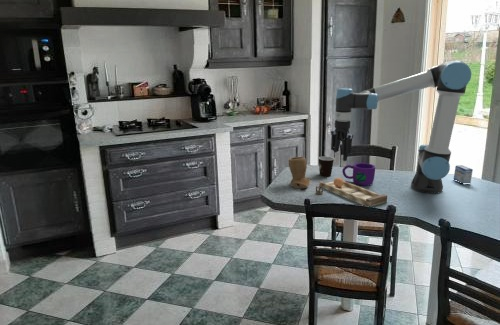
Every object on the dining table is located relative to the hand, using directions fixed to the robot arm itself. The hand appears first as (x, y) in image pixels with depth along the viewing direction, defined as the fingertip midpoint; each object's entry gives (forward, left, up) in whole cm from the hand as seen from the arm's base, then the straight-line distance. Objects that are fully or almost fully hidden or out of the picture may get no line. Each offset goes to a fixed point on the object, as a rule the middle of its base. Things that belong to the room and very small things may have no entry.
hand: (339, 165), depth 200 cm
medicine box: (-28, -64, -13) cm, 71 cm away
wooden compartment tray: (-9, 0, -13) cm, 16 cm away
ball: (0, 0, -9) cm, 9 cm away
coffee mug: (+22, -11, -13) cm, 28 cm away
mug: (+2, -16, -13) cm, 21 cm away
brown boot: (+16, +14, -13) cm, 25 cm away
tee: (0, +13, -13) cm, 18 cm away
